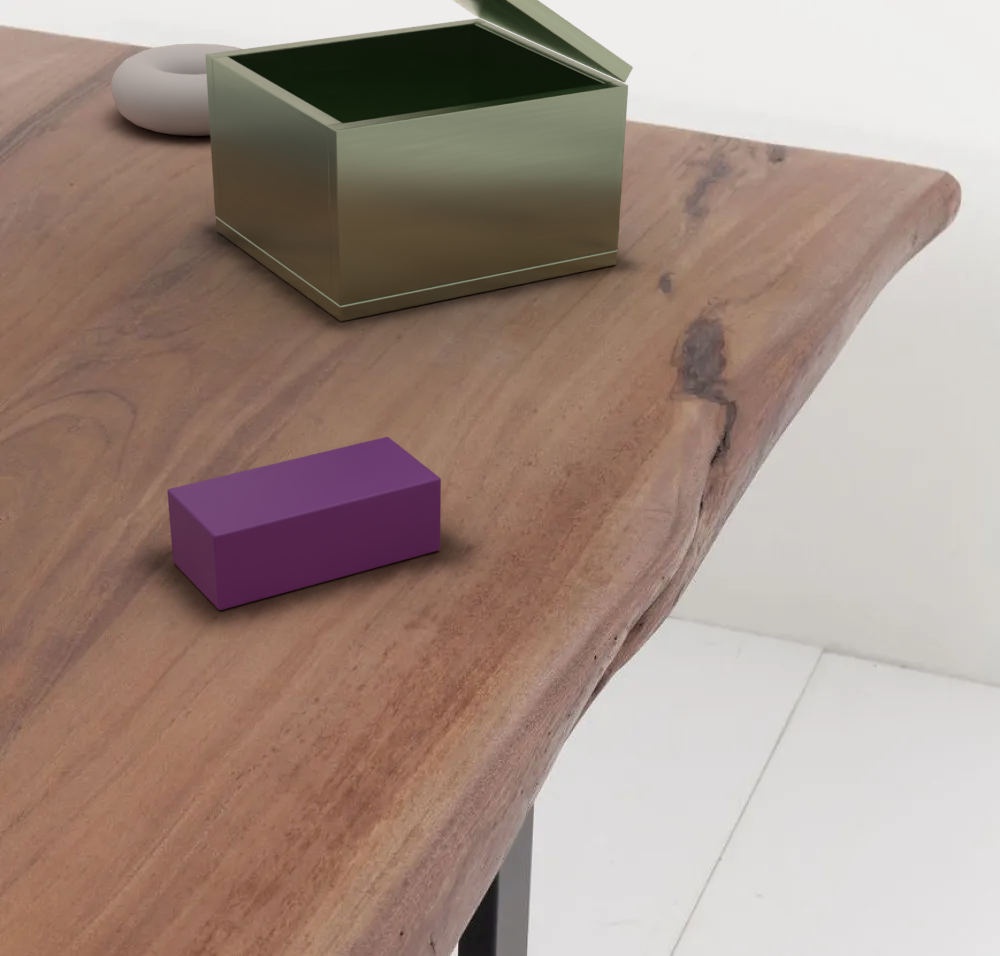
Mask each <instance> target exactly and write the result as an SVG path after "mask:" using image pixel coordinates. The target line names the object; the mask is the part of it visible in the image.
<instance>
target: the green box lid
mask: <svg viewBox="0 0 1000 956" xmlns="http://www.w3.org/2000/svg"><path fill="white" fill-rule="evenodd" d="M452 1H453V2H454V3H455V4H457V5H458V6H460V7H462V8H463V9H465V10H466V11H468V12H469V13H470V14H472V15H474V16H475V17H477V18H479V19H482V20H484V21H486V22H488V23H490V24H493V25H495V26H497V27H499V28H501V29H504V30H506V31H508V32H510V33H513V34H515V35H517V36H519V37H521V38H524V39H526V40H528V41H530V42H533V43H535V44H537V45H539V46H541V47H544V48H546V49H548V50H550V51H553V52H555V53H557V54H559V55H562V56H564V57H566V58H568V59H570V60H573V61H575V62H577V63H579V64H582V65H584V66H586V67H588V68H590V69H593V70H595V71H597V72H599V73H602V74H604V75H606V76H608V77H610V78H613V79H615V80H617V81H620V82H622V83H626V81H627V79H628V78H629V77H630V74H631V72H632V70H633V68H634V67H633V66H632V65H631V64H629V63H628V62H626V61H625V60H623V58H621V57H619V56H618V55H616V54H615V53H614V52H612V51H611V50H610V49H608V48H607V47H605V46H604V45H603V44H601V43H600V42H598V41H597V40H596V39H594V38H592V37H591V36H590V35H588V34H587V33H586V32H584V31H582V29H580V28H578V27H577V26H576V25H574V24H573V23H571V22H570V21H569V20H567V19H565V18H564V17H563V16H561V15H560V14H558V13H557V12H556V11H554V10H552V9H551V8H550V7H548V6H547V5H546V4H544V3H543V2H541V1H540V0H452Z"/></svg>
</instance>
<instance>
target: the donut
mask: <svg viewBox="0 0 1000 956" xmlns="http://www.w3.org/2000/svg"><path fill="white" fill-rule="evenodd" d="M240 49H242V48H241V47H237V46H231V45H225V44H216V43H215V44H214V43H180V44H178V43H177V44H170V45H163V46H157V47H151V48H149V49H144V50H142V51H140V52H138V53H136V54H133V55H131V56H130V57H127V58H126V59H124V60H123V62H122V63H121V64H120V65H119V66H118V67H117V69H116V70H115V71H114V73H113V76H112V78H111V83H110V92H111V95H112V99H113V101H114V105H115V107H116V108H117V110H118V112H119V113H120V115H122V116H123V117H124V118H125V119H126V120H128V121H129V122H131V123H132V124H134V125H135V126H138V127H140V128H143V129H146V130H150V131H152V132H156V133H160V134H166V135H167V134H168V135H172V136H187V137H188V136H191V137H203V136H204V137H205V136H210V122H209V106H208V90H207V73H206V57H205V54H210V53H217V52H225V51H233V50H240Z"/></svg>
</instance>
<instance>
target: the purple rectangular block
mask: <svg viewBox="0 0 1000 956" xmlns="http://www.w3.org/2000/svg"><path fill="white" fill-rule="evenodd" d="M441 479H442V478H441V477H440V476H438V475H437V474H436V473H434V471H432V470H431V469H430V468H428V467H427V466H426V465H425V464H423V463H422V462H421V461H420V460H418V459H417V458H416V457H414V455H412V454H411V453H409V452H408V451H407V450H406V449H404V448H403V447H402V446H401V445H400V444H398V443H397V442H395V441H394V440H393V439H392V438H390V437H389V436H384V437H380V438H376V439H372V440H366V441H363V442H359V443H355V444H351V445H347V446H343V447H338V448H334V449H330V450H326V451H325V450H324V451H322V452H317V453H313V454H309V455H305V456H301V457H296V458H292V459H287V460H284V461H280V462H275V463H271V464H267V465H264V466H263V465H262V466H259V467H254V468H251V469H248V470H242V471H238V472H234V473H230V474H224V475H221V476H218V477H213V478H209V479H205V480H201V481H196V482H193V483H192V482H191V483H187V484H184V485H179V486H176V487H172V488H168V489H167V490H166V491H167V501H168V502H167V503H168V515H169V525H170V539H171V550H172V552H171V553H172V562H173V564H175V565H176V567H177V568H178V569H179V570H180V571H181V572H182V573H183V574H184V575H185V576H186V577H187V579H188V580H190V581H191V582H192V583H193V585H194V586H195V587H196V588H197V589H198V590H199V591H200V592H201V593H202V594H203V596H205V597H206V598H207V599H208V600H209V602H210V603H211V604H212V605H213V606H214V607H215V608H216V609H217V610H218V611H224V610H227V609H231V608H234V607H237V606H241V605H246V604H249V603H253V602H256V601H260V600H264V599H268V598H270V597H274V596H275V597H276V596H278V595H282V594H285V593H288V592H293V591H296V590H300V589H304V588H307V587H311V586H315V585H318V584H323V583H325V582H329V581H333V580H337V579H340V578H344V577H347V576H350V575H355V574H358V573H362V572H366V571H370V570H373V569H376V568H380V567H384V566H387V565H391V564H395V563H398V562H401V561H406V560H410V559H413V558H416V557H420V556H424V555H427V554H431V553H436V552H439V551H440V550H441V513H442V512H441V508H442V507H441V505H442V504H441V501H442V494H441V493H442V480H441Z"/></svg>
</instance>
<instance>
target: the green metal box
mask: <svg viewBox="0 0 1000 956" xmlns="http://www.w3.org/2000/svg"><path fill="white" fill-rule="evenodd" d="M205 57H206V73H207V90H208V106H209V122H210V135H209V137H210V153H211V168H212V183H213V199H214V201H213V202H214V203H213V204H214V215H215V227H216V228H215V229H216V232H217V233H219V234H220V235H222V237H225V238H226V239H227V240H229V241H230V242H231V243H233V244H234V245H235V246H237V247H238V248H239V249H240V250H242V251H244V252H245V253H246V254H248V255H249V256H250V257H252V258H253V259H255V260H256V261H257V262H258V263H260V264H261V265H263V266H264V267H265V268H267V269H268V270H269V271H271V272H273V273H274V274H275V275H276V276H278V277H279V278H280V279H282V280H283V281H284V282H286V283H287V284H288V285H290V286H291V287H293V288H294V289H295V290H297V291H298V292H299V293H300V294H302V295H304V296H305V297H307V298H308V299H309V300H311V301H312V302H313V303H314V304H316V305H317V306H319V307H320V308H322V309H323V310H324V311H325V312H327V313H329V315H330V316H332V317H334V318H335V319H337V321H339V322H345V321H349V320H354V319H359V318H363V317H369V316H374V315H379V314H384V313H387V312H388V313H389V312H393V311H398V310H403V309H407V308H413V307H417V306H423V305H427V304H432V303H437V302H443V301H446V300H451V299H456V298H461V297H466V296H470V295H476V294H481V293H485V292H490V291H495V290H500V289H505V288H510V287H514V286H519V285H524V284H529V283H534V282H538V281H543V280H548V279H549V280H550V279H553V278H557V277H562V276H567V275H573V274H577V273H581V272H587V271H592V270H596V269H603V268H606V267H611V266H616V265H617V260H618V259H617V258H618V248H619V233H620V217H621V205H622V190H623V189H622V188H623V172H624V158H625V140H626V125H627V112H628V111H627V110H628V95H629V85H628V84H626V83H625V82H622V81H620V80H617V79H615V78H613V77H611V76H608V75H606V74H604V73H602V72H599V71H597V70H595V69H593V68H591V67H588V66H586V65H584V64H582V63H579V62H577V61H575V60H573V59H571V58H568V57H566V56H564V55H562V54H559V53H557V52H555V51H553V50H550V49H548V48H546V47H544V46H542V45H539V44H537V43H535V42H533V41H530V40H528V39H526V38H524V37H521V36H519V35H517V34H515V33H513V32H510V31H508V30H506V29H504V28H501V27H499V26H497V25H495V24H493V23H490V22H488V21H486V20H484V19H481V18H479V17H477V18H472V19H463V20H457V21H456V20H455V21H448V22H440V23H433V24H425V25H416V26H410V27H404V28H395V29H387V30H386V29H385V30H379V31H369V32H363V33H356V34H348V35H341V36H333V37H326V38H317V39H310V40H303V41H295V42H287V43H280V44H271V45H265V46H264V45H263V46H257V47H256V46H255V47H249V48H248V47H247V48H241V49H240V50H233V51H225V52H217V53H210V54H205Z"/></svg>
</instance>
